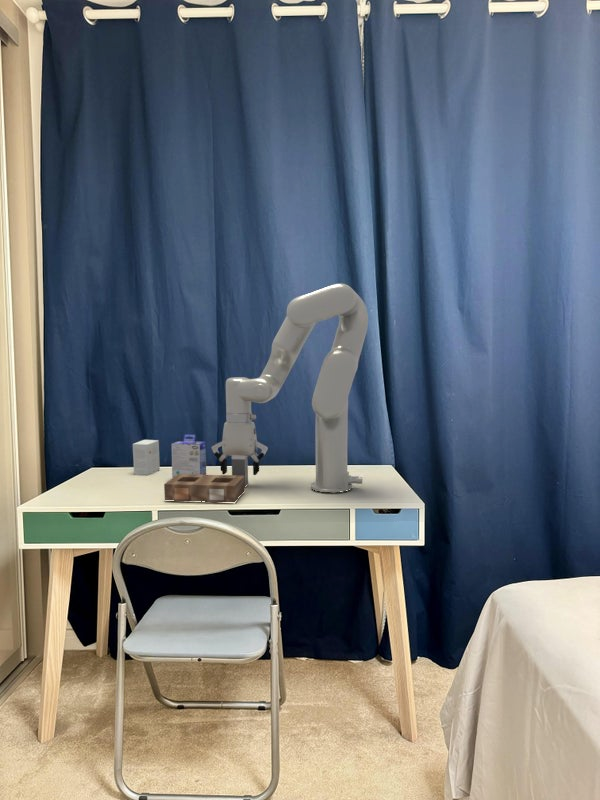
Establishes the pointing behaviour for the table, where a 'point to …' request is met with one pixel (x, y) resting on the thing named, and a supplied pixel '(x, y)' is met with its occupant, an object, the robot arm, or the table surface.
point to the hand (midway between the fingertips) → (240, 473)
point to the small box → (146, 457)
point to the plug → (240, 466)
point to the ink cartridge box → (188, 457)
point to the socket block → (204, 488)
